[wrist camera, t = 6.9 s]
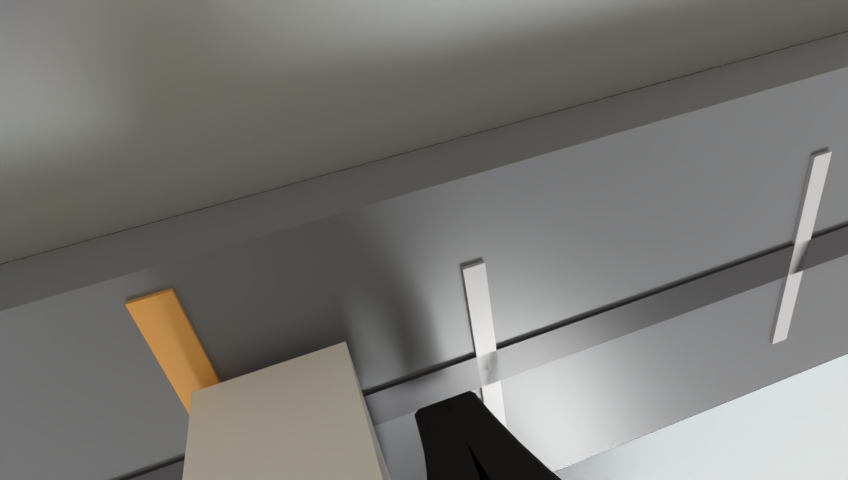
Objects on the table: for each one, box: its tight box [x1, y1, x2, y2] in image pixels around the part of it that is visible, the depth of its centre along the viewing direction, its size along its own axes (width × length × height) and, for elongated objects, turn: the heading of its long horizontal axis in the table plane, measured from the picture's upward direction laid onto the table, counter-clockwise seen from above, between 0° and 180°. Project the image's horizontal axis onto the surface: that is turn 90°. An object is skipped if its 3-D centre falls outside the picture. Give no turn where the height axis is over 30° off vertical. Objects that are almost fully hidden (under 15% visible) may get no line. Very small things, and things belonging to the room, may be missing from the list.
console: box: [0, 32, 848, 480], centre depth 14 cm, size 10×28×2 cm, turn 99°
